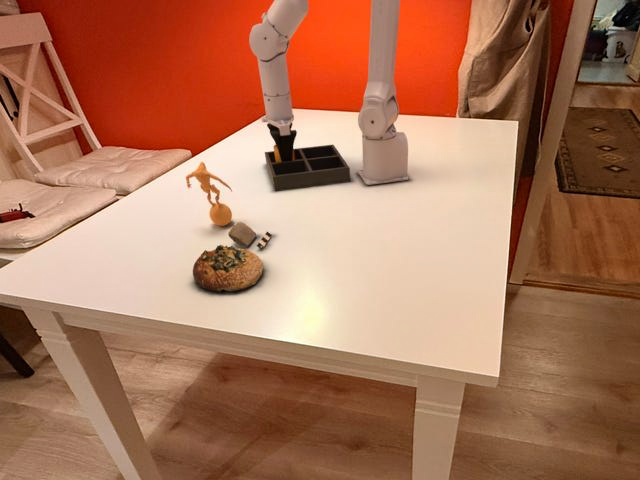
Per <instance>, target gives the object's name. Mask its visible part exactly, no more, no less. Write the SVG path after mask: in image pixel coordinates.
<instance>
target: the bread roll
mask: <svg viewBox="0 0 640 480" xmlns="http://www.w3.org/2000/svg"><path fill="white" fill-rule="evenodd" d="M263 266H264V265H263V261H262V260H261V259H260V256H259V255H257V254H256V253H255V252H253V251H251V250H249V249H243V248H237V247H236V246H234V245H230V246H227V245H223V244H220V245H217V246H216V247H215V249H212V250H206V249H204V251H203V252H202V253H201V254H200V256H198V258H197V259H196V260H195V262H194V264H193V268H192V276H193V279H194V281H195V284H196V286H198V287H199V288H201V289H205V290H206V291H210V292H211V291H212V292H222V290H225V291H227V292H234V291H235V292H236V291H240V290H245V289H247V288H249V287H251V286H253V285H256V283H257V282H258V280H259V279H260V277H261V276H262V275H263V269H264V267H263Z"/></svg>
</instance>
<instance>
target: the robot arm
mask: <svg viewBox="0 0 640 480" xmlns="http://www.w3.org/2000/svg"><path fill="white" fill-rule="evenodd" d="M309 7H310V6H309V0H273V2H272V4H271V5H270V7H269V8H268V10H267V12H264V13H262V15H261V19H262V23H257V24H255V25H252V27H251V30H250V33H249V36H248V37H249V41H248V42H249V47H250V49H251V51H252V53H253V55H254V56H255V57H256V58H257V65H258V71H259V78H260V84H261V91H262V98H263V103H264V110H265V116H260V120H261V122H262V123H266V126H267V128H268V130H269V134H270V136H271V138H272V140H273V141H274V143H275V144H274V145H277V148H278V151H279V155H280V158H281V161H282V162H284V161H292V159H293V149H294V144H295V140H296V137H297V134H298V131H297V130H296V129H292V128H293V122H294V120H295V115H294V111H293V104H292V96H291V89H290V80H289V71H288V63H287V52H288V50H289V48H290V40H291V39H292V37H293V36H294V34H295V33H296V31H297V30H298V29H299V27H300V25H301V24H302V22H303V21H304V19H305V18H306V17H307V15H308V13H309ZM370 7H371V8H370V26H369V28H370V29H369V31H370V32H369V45H368V46H369V51H368V67H367V68H368V69H367V83H366V87H365V91H364V94H363V99H362V100H363V101H362V106H361V109H360V110H359V112H358V115H357V125H358V128H359V130H360V131H361V143H362V144H361V149H362V169H361V170H358V171H357V174H358V175H359V176H360V179H362V180H363V182H364V184H365V185H367V186H372V185H379V184H380V185H381V184H387V183H395V182H401V181H408V180H409V177H408V170H409V169H408V167H409V142H408V138H407V135H406V133H405V132H404V131H397V129H396V126H395V122H396V121H397V119H398V118H399V114H400V107H399V103H398V100H397V86H396V84H395V72H396V71H395V70H396V59H397V46H398V36H399V35H398V33H399V23H400V10H401V0H371V4H370Z"/></svg>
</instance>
